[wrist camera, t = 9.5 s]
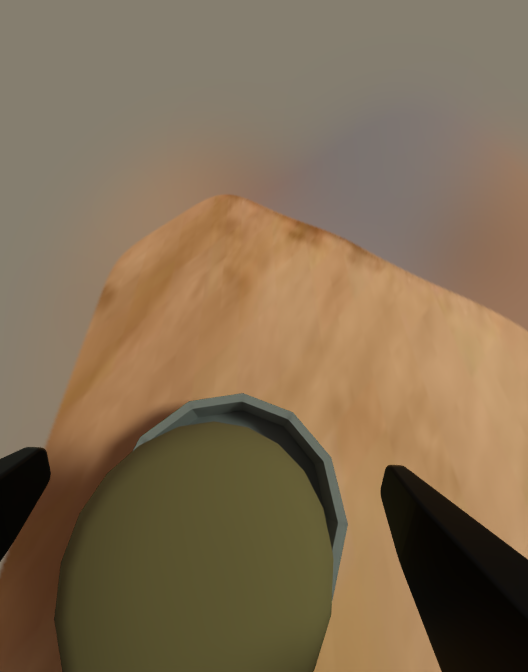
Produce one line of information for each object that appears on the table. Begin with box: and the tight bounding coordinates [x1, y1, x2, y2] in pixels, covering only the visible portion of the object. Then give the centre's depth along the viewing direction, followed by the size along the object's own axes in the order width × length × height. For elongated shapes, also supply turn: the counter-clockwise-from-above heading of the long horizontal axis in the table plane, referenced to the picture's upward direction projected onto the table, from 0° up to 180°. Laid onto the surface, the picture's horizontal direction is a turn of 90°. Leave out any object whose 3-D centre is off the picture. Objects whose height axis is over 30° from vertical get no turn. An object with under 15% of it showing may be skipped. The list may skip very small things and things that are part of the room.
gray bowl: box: [132, 393, 348, 599], centre depth 14 cm, size 10×10×2 cm
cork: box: [54, 421, 334, 672], centre depth 9 cm, size 6×6×11 cm
